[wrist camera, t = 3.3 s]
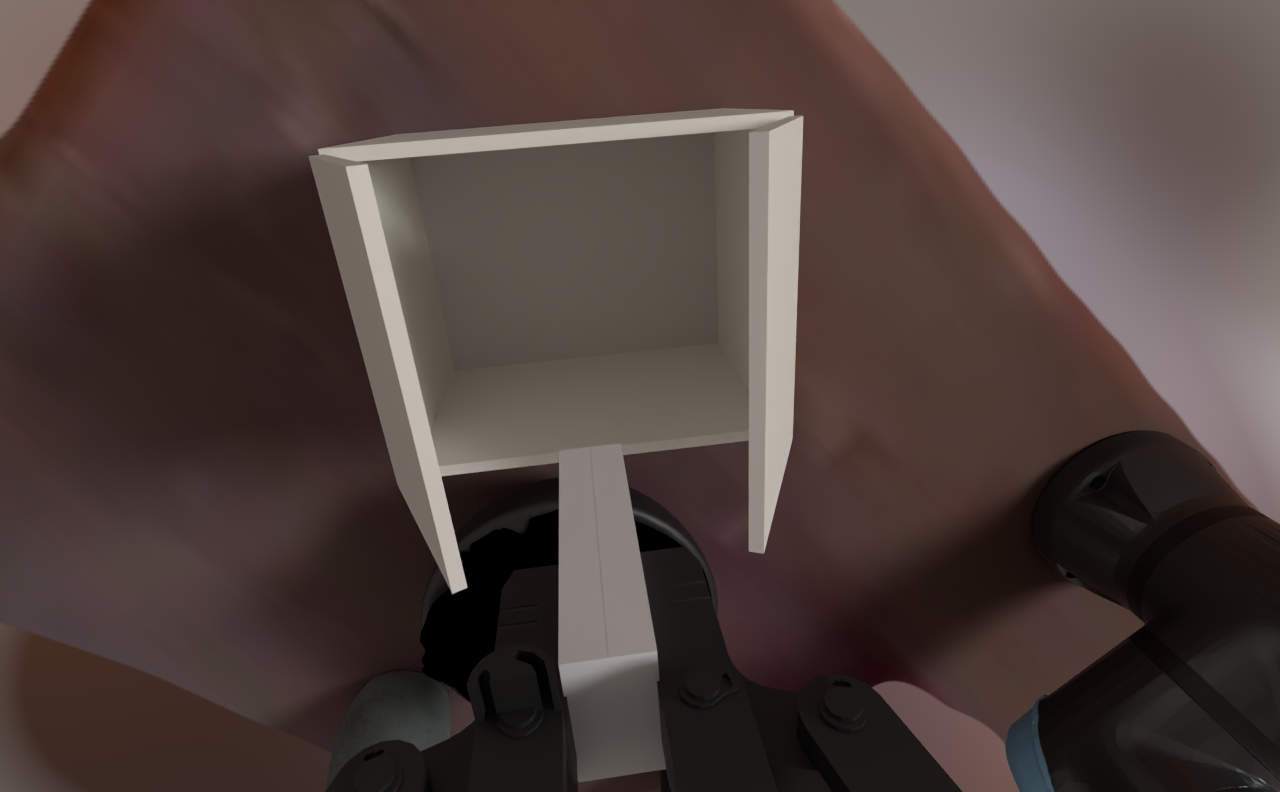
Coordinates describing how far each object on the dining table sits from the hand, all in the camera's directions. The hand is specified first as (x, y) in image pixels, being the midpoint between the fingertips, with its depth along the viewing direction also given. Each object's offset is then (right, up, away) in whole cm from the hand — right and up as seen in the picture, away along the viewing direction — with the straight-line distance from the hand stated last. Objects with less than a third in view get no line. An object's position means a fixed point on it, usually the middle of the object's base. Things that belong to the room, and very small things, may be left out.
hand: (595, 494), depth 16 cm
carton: (-3, +12, +27) cm, 30 cm away
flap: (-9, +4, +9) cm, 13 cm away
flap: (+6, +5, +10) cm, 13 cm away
